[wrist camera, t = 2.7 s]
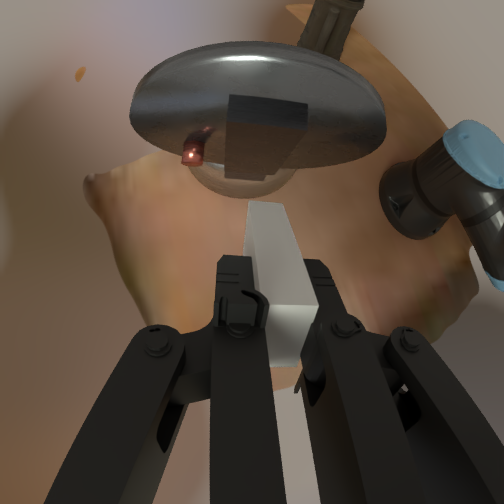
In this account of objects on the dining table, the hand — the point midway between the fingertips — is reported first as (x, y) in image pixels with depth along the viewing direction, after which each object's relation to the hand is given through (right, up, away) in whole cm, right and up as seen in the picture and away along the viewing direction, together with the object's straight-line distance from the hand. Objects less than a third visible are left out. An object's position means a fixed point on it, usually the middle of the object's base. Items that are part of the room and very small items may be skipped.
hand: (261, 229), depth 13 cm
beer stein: (+15, +45, +43) cm, 64 cm away
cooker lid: (0, +10, +10) cm, 14 cm away
